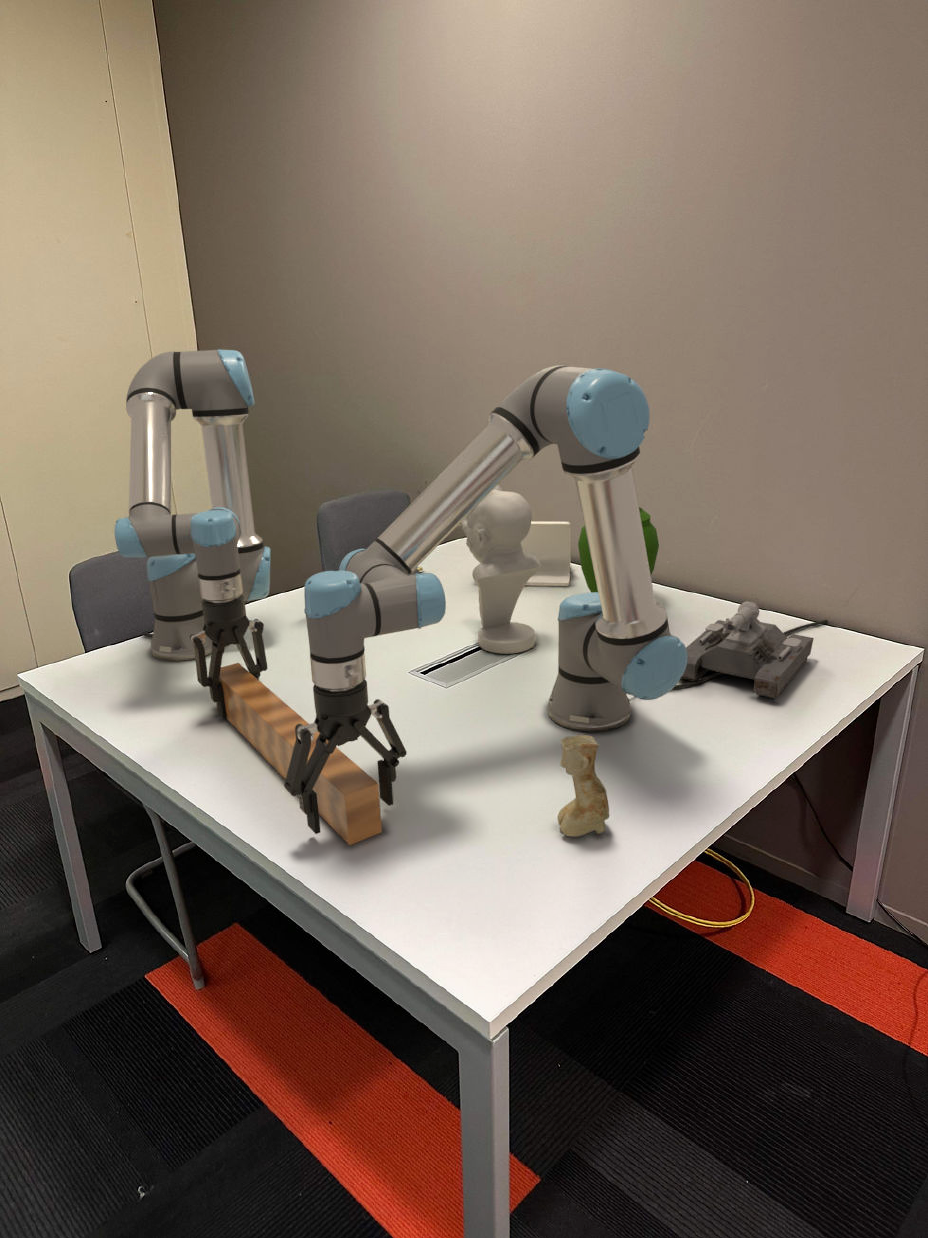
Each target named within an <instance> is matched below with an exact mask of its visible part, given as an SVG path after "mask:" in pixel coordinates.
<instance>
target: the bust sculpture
mask: <svg viewBox="0 0 928 1238" xmlns="http://www.w3.org/2000/svg"><path fill="white" fill-rule="evenodd" d="M531 521H533V512H532V508H531V506H530V504H529V503H528V501H527V500H526V499H525V497H523V496H522V495H521V494H520V493H518V492H514V491H506V490H504V491H503V488H502V487H501V486H500V485H499V484H498V485H497V486H496V487H495V488H494V489H493V490H492V491H491V492H490V493H489V494H488V495H487V496H486V497H485V498H484V499H483V500H482V501H481V502H480V503H479V504H478V505H477V506H476V507H475V508H474V509H473V510H472V511H471V512H470V513H469V514H468V515H467V516H466V517H465V518H464V519H463V520H462V521H461V523H460V524H459V525H458V526H457V527H456V528H459V527H461V526H462V527H461V528H462V531H463V533H465V536H466V542H465V543H466V546H467V548H468V549H469V552H470V553H471V554H472V556H473V558H474V559H475V560H476V561H477V562H479V564H477V565H476V566H474V568H473V570H472V578H473V580H474V582H475V584H476V586H477V587H478V609H479V617H480V621H481V627H480V629H478V632H477V633H478V641H477V642H478V646H479V647H480V648H481V649H482V650H484V651H487V652H490V653H493V654H494V653H495V654H503V655H504V654H505V655H506V654H507V655H508V654H517V653H522V652H525V651H528V650H530V649H532V648H533V647H534V646H535V643H536V637H535V636H536V632H535V629H534V628H533V627H531V625H527V624H525V623H520V622H513V621H511V620H512V617H513V613H514V611H515V608H516V605H517V602H518V600H519V598H520V596H521V593H522V591H523V589H524V588H525V586H526V585H525V584H526V583H527V581H528V580H529V579H530V578H531V577H532V576H533V574H535V573H536V572H537V571H538V570H539V569H540V568H541V567H542V566H541V564H540V562H539V560H538V559H537V558H536V557H535V556H533V555H530V554H524V553H523V550H522V547H521V544H520V543H521V541H522V540H523V539H524V538H525V537H526V536H527V534H528V532H529V530H530V526H531Z"/></svg>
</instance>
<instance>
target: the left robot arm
mask: <svg viewBox="0 0 928 1238" xmlns="http://www.w3.org/2000/svg"><path fill="white" fill-rule="evenodd" d="M249 374H250V373H249V370H248V367H247V364H246V360H245V358H244V355H243V354H242V352H240V351H238V350H237V349H236V350H235V349H220V348H218V349H209V350H208V349H207V350H189V351H188V350H187V351H166V352H161V353H159V354H157V355H155V356H153V357H152V358H150V359H149V360H148V361H146V362H145V363H144V364H143V365H142V366H141V367H140V368H139V370H138V371H137V372H136V374H135V375H134V376H133V378H132V379H131V382H130V384H129V386H128V389H127V393H126V402H125V404H126V405H125V410H126V414H127V416H128V417H129V418H130V446H129V447H130V451H129V485H128V487H129V488H128V516H126V517H121V518H118V519H117V520H116V521H115V524H114V541H115V546H116V548H117V551H118V553H119V554H120V556H121V557H123V558H125V559H147V558H148V559H147V561H146V572H147V573H146V574H147V578H146V579H147V581H148V586H149V591H150V598H151V603H152V609H153V615H154V626H153V631H152V633H150V632H146V631H143V632H142V636H143V637H146V638H150V639H151V642H150V650H151V654H152V656H153V657H154V658H156V659H158V660H162V661H169V662H181V661H190V660H195V670H196V678H197V682H198V683H199V684H200V685H201V686H202V687H203V688H206V687H208V689H209V695H210V699H211V701H212V702H213V703H215V704H216V702H217V705H216V709H217V708H218V709H217V713H218V715H219V716H220V717H221V718H222V719H223V720H224V719H226V718H227V713H226V706H225V699H224V692H223V686H222V685H221V684H220V683H219V676H220V669H221V667H222V661H223V655H224V653H225V649H226V647H228V646H230V645H236V647H237V649H238V652H239V654H240V656H241V658H242V660H243V663H244V665H245V667H246V670H247V671H248V672H250V673H251V674H252V675H253V676H254V677H255V678H257V679H258V680H259V681H260V677H261V673H262V672H266V671H267V670H268V662H267V655H266V649H265V642H264V637H263V636H264V635H263V633H264V627H265V624H264V622H262V621H261V620H259V619H258V618H255V619H249V617H247V610H246V602H251V601H255V600H262V599H265V598H267V597H268V595H269V593H270V587H271V585H270V584H271V560H272V559H271V557H272V556H271V551H272V549H271V547H269V546H266V545H265V546H264V539H263V538H262V537H261V536H260V535H259V534H257V533H256V528H255V520H254V519H255V518H254V511H253V503H252V495H251V494H252V493H251V484H250V475H249V466H248V458H247V450H246V442H245V441H246V439H245V432H244V422H245V420H247V418H248V417H249V416H250V412H249V408H251V407H253V406H255V397H254V392H253V388H252V387H253V386H252V382H251V379H250V375H249ZM177 410H191V415H192V419H193V420H195V422H197V423H198V424H199V425H200V426H201V433H202V435H201V436H202V442H203V451H204V457H205V465H206V473H207V481H208V490H209V498H210V505H211V509H208V510H205V511H201V512H193V513H192V512H191V513H180V514H179V513H178V514H177V513H176V514H172V421H174V420H175V418H176V415H177ZM248 629H249V631H251V639H252V644H253V650H254V656H255V661H254V658H253V656H252V654H251V652H250V649H249V647H248V644H247V642H246V640H245V637H244V636H245V635H246V633H247V631H248ZM208 655H210V661H209V667H208V665H207V658H206V656H208ZM207 667H208V668H207Z"/></svg>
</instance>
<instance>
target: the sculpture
mask: <svg viewBox="0 0 928 1238" xmlns="http://www.w3.org/2000/svg"><path fill="white" fill-rule="evenodd" d="M560 746H561V749H562V750H561V759H560V762H559V766H560V767H562V768H563V769H565V772H566V774H568V775H569V776H571V777H572V783H573V787H574V795H575V798H573V800H571V801H569V802H568V803H567V804H566V805H564V806H563V807H562V808H561V809H560V810H559V812H558V814H557V821H558V825H559V826H560V830H561V832H562V833H563V834H564V835H565V836H568V837H574V838H575V837H582V836H584V835H586V834H589V833H591V832H594V831H595V832H596V834H602V833H604V832H605V830H606V829H605V828H606V822H605V821H607V820H608V819H609V818H610V806H609V805H610V804H609V800H608V795H607V794H608V793H607V789H606V787H605V785H604V784H603V782H602V781H601V779H600V778H599V777H598V775H597V774H596V771H595V767H596V766H595V765H596V760H597V755H598V754H597V753H598V752H597V751H598V749H599V747H600V745H599V743H598V742H596V739H595V738H594V736H592V735H587V734H578V735H571V736H565V737H563V738H562V739H561V740H560Z"/></svg>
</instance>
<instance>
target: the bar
mask: <svg viewBox="0 0 928 1238" xmlns="http://www.w3.org/2000/svg"><path fill="white" fill-rule="evenodd" d="M219 683H220V684H221V685H222V686H223V692H224V699H225V706H226V713H227V718H225V719H226V720H227V721H228V722H229V723H230V724H231V725H232V726H233V727H234V728H235V729H236V730H237V731H238V732H239V733H240V734H241V735H242V736H243V738H245V740H247V741H248V743H249V744H251V746H252V747H253V748H254V749H256V751H257V752H258V753H259V755H260V756H262V757H263V758H264V759H265V760H266V761H267V762H268V763H269V764H270V765H271V766H272V767H273V768H274V769H275V771H277V773H278V774H280V776H282V778H284V779H285V780H286V776H287V772H288V768H289V764H290V760H291V757H292V753H293V749H294V745H295V741H296V734H295V727H296V725H297V724H302V725H303V726H305V725H308V724H310V722H308V721H307V720H305V719H304V718H303V717H302V716H301V715H300V714H298V713H297V712H296V711H295V710H294V709H293V708H291V707H290V706H289V705H288V704H287V703H285V701H284V700H282V699H281V698H280V697H279V696H278V695H277V694H275V693H274V691H271V690H270V689H269V687H268V686H267V685H265V684H264V683H262V682H261V681H260V679H259V680H258V679H257V678H255V677H254V676H253V675H252V674H251V673H250V672H249V671H248V669H247V668H245V666H243V665H242V664H241V663H239V662H236V663H232V664H228V665H225V666H221V669H220V676H219ZM215 704H216V706H217V702H216V703H215ZM216 710H218V708H217V707H216ZM319 734H320V733H319V732H316V733H315V734H314V740H313V741H311V748H310V752H309V756H308V760H309V758H310V756H311V754H312V752H313V750H314V748H315V746H316V740H317V738H318V736H319ZM328 742H329V741H328V740H326V743H327V744H328ZM308 760H307V762H308ZM313 790H314V791H315V792H316V793H317V802H318V812H319V816H320V817H321V818H322V819H323V820H324V821H325V822H326V823H327V824H328V825H329V826H330V827H331V828H332V829H333V830H334V831H335V832H336V833H337V834H338V835H339V837H340V838H341V839H342V840H343V841H345V843H347V845H348V846H352V845H355V844H357V843H359V842H362V841H364V840H367V839H369V838H371V837H374V836H377V835H379V834H381V833H383V829H382V827H383V825H382V814H381V801H380V799H381V798H380V790H379V782H377V780H375V779H374V778H373V777H371V775H369V774H368V773H367V772H366V771H365V770H363V769H362V768H361V767H360V766H359V765H358V764H357V763H355V762H354V761H353V760H352V759H351V758H350V757H348V755H346V754H345V753H344V752H342V750H340V749H339V748H338V746H336V748H335V750H334V752H333V753H332V754H330V755H329V757H328V759H327V761H326V763H325V765H324V767H323V769H322V771H321V773H320V775H319V777H318V779H317V781H316V783H315V785H314V787H313Z"/></svg>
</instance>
